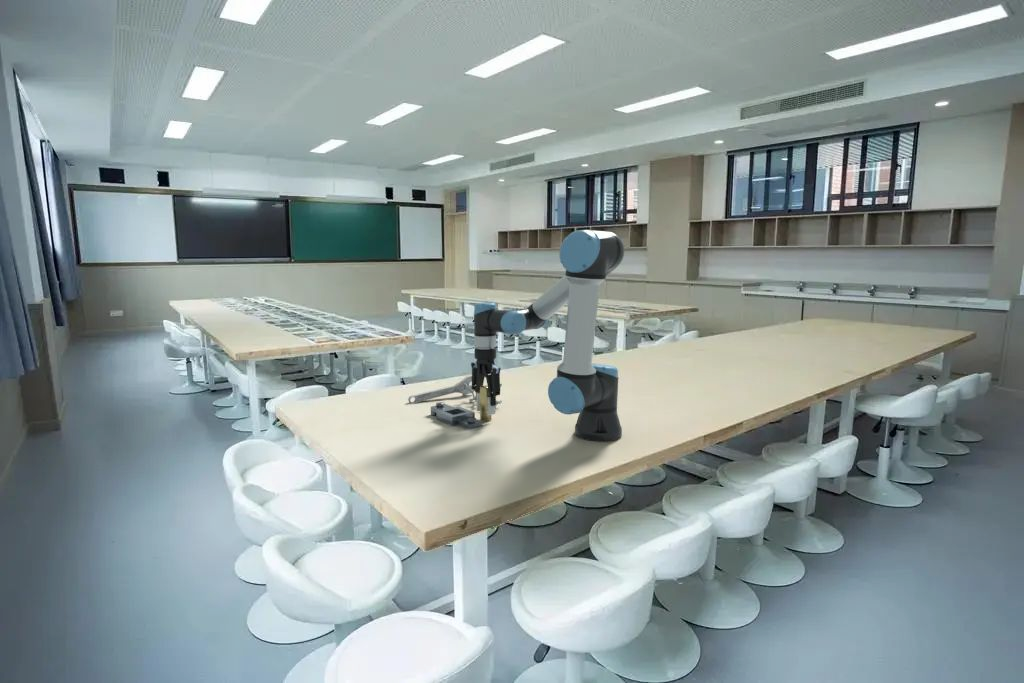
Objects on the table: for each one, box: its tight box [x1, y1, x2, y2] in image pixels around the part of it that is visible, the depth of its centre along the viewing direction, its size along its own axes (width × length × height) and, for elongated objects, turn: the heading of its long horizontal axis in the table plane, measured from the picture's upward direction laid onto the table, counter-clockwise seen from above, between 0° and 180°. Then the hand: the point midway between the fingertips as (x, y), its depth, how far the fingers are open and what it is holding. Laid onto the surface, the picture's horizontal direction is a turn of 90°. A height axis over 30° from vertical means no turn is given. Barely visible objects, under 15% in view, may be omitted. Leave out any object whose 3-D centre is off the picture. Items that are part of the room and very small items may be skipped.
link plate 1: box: [430, 401, 476, 422], centre depth 197 cm, size 16×10×4 cm, turn 41°
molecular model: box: [463, 383, 503, 410], centre depth 213 cm, size 19×10×10 cm, turn 34°
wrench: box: [407, 375, 475, 404], centre depth 223 cm, size 8×2×30 cm
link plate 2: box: [436, 413, 483, 430], centre depth 192 cm, size 16×10×2 cm, turn 41°
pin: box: [479, 385, 493, 423], centre depth 194 cm, size 4×4×12 cm
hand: (485, 412), depth 194 cm, fingers open, 6 cm apart
